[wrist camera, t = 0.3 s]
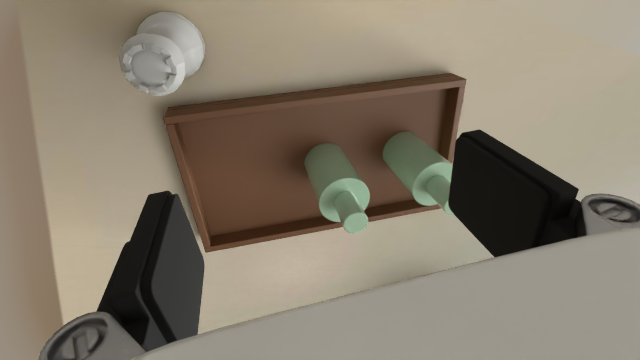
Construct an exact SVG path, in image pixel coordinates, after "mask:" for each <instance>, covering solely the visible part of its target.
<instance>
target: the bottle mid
mask: <svg viewBox="0 0 640 360" xmlns="http://www.w3.org/2000/svg"><path fill="white" fill-rule="evenodd" d="M304 169H305V172H306V174H307V177H308V180H309V182H310V185H311V188H312V190H313V193H314V196H315V198H316V201H317V204H318V206H319V209H320V211H321V213H322V215H323V216H324V217H325V218H327V219H328V220H331V221H334V222H341V223H342V225H343V227H344V229H345V231H347V232H349V233H358V232H361V231H362V230H364V229H365V228H366V226H367V224H368V217H367V215H366V213H365V212H364V210H365V209H366V207H367V205H368V203H369V199H370V193H369V190H368V187H367V186H366V184H365V183H364V181H363V180H362V178H361V177H360V175H359V173H358V172H357V170H356V169H355V167H354V166H353V164H352V163H351V161H350V160H349V158H348V157H347V155H346V153H345V152H344V150H343V149H342V148H341V147H339V146H338V145H336V144H333V143H323V144H320V145H317V146H315V147H314V148H312V149H311V150H310V151H309V153H308V154H307V156H306V158H305V161H304Z"/></svg>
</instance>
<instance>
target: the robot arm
mask: <svg viewBox="0 0 640 360" xmlns="http://www.w3.org/2000/svg"><path fill="white" fill-rule="evenodd" d="M578 190H579V189H578V188H576V187H574V186H573V185H571V184H569V183H568V182H566V181H564V180H563V179H561V178H559V177H558V176H556V175H554V174H553V173H551V172H549V171H548V170H546V169H544V168H543V167H541V166H539V165H538V164H536V163H535V162H533V161H531V160H530V159H528V158H526V157H525V156H523V155H521V154H520V153H518V152H516V151H515V150H513V149H511V148H510V147H508V146H506V145H505V144H503V143H501V142H500V141H498V140H496V139H495V138H493V137H491V136H490V135H488V134H486V133H485V132H483V131H481V130H475V131H470V132H465V133H462V134H461V135H460V137H459V138H458V139H457V140H456V143H455V150H454V158H453V166H452V174H451V183H450V191H449V199H448V205H449V208H450V210H451V211H452V213H453V214H454V215H455V216H456V217H457V218H458V219H459V220H460V221H461V222H462V223H463V224H464V225H465V226H466V227H467V229H468V230H469V231H470V232H471V233H472V234H473V235H474V236H475V237H476V238H477V239H478V240H479V241H480V242H481V243H482V244H483V245H484V247H485V248H486V249H487V250H488V251H489V252H490V253H491V254H492V255H493V256H494V257H495V258H491V259H487V260H483V261H479V262H475V263H471V264H467V265H463V266H459V267H455V268H451V269H447V270H443V271H439V272H435V273H431V274H427V275H423V276H419V277H415V278H411V279H407V280H403V281H399V282H395V283H391V284H387V285H383V286H379V287H376V288H372V289H368V290H364V291H360V292H356V293H352V294H348V295H344V296H340V297H337V298H333V299H329V300H325V301H321V302H317V303H313V304H310V305H306V306H302V307H298V308H294V309H290V310H286V311H283V312H279V313H275V314H271V315H267V316H263V317H260V318H256V319H252V320H248V321H244V322H241V323H237V324H233V325H229V326H226V327H222V328H219V329H215V330H212V331H209V332H205V333H202V334H199V335H197V334H198V324H199V315H200V305H201V295H202V286H203V276H204V260H203V256H202V254H201V251H200V249H199V246H198V243H197V241H196V238H195V236H194V233H193V231H192V228H191V226H190V223H189V221H188V218H187V216H186V213H185V210H184V208H183V205H182V203H181V200H180V198H179V196H178V194H173V195H172V194H171V192H170V191H164V192H159V193H154V194H150V195H148V197H147V200H146V202H145V205H144V207H143V210H142V212H141V215H140V217H139V220H138V222H137V225H136V227H135V230H134V232H133V235H132V237H131V240H130V241H129V242H127V243H126V244H125V245H124V247H123V249H122V252H121V254H120V256H119V259H118V261H117V264H116V266H115V268H114V271H113V273H112V276H111V278H110V280H109V283H108V285H107V288H106V290H105V292H104V295H103V297H102V300H101V302H100V304H99V307H98V309H97V312H92V313H87V314H85V315H82V316H80V317H77V318H75V319H74V320H72V321H70V322H68V323H67V324H65V325H64V326H63V327H61V328H60V329H59V330H58V331H56V332H55V333H54V334H53V336H52V337H51V338H50V339H49V340H48V341H47V342H46V344H45V346H44V347H43V349H42V350H41V352H40V356H39V360H640V205H639V204H637V203H635V202H633V201H631V200H629V199H626V198H623V197H620V196H615V195H610V194H591V195H588V196H586V197H584V198H583V199H582V201H581V202H580V201H578V200H576V199H575V198H576V196H577V193H578Z"/></svg>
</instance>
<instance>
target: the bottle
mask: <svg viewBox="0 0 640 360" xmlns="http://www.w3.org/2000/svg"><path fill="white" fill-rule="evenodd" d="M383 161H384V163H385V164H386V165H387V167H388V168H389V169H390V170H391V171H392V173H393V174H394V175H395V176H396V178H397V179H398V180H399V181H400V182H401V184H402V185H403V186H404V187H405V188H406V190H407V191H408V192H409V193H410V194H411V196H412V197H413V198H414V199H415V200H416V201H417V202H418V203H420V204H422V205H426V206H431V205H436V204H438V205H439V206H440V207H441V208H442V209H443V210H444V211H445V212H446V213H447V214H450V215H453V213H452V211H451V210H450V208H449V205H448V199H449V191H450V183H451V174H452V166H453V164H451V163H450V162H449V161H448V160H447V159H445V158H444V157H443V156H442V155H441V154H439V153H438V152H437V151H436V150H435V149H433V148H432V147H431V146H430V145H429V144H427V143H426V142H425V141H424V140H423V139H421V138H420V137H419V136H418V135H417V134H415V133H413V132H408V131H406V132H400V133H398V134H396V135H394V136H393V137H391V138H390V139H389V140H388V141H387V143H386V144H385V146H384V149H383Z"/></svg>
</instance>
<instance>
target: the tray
mask: <svg viewBox="0 0 640 360" xmlns="http://www.w3.org/2000/svg"><path fill="white" fill-rule="evenodd" d="M465 85H466V79H464V78H462V77H459V76H457V75H455V74H452V73H449V74H441V75H433V76H424V77H416V78H408V79H400V80H391V81H383V82H375V83H367V84H358V85H350V86H342V87H334V88H325V89H317V90H309V91H301V92H292V93H284V94H276V95H268V96H259V97H251V98H243V99H235V100H226V101H218V102H210V103H202V104H193V105H185V106H177V107H169V108H168V109H167V111H166V113H165V115H164V116H163V119H164V123H165V124H166V129H167V132H168V135H169V138H170V142H171V145H172V148H173V151H174V154H175V157H176V160H177V164H178V167H179V170H180V173H181V176H182V179H183V183H184V186H185V189H186V192H187V195H188V198H189V202H190V205H191V208H192V211H193V214H194V217H195V221H196V224H197V227H198V230H199V233H200V236H201V240H202V243H203V246H204V249H205V252H212V251H217V250H222V249H228V248H233V247H238V246H244V245H249V244H254V243H259V242H265V241H270V240H275V239H281V238H286V237H291V236H297V235H302V234H307V233H313V232H318V231H323V230H328V229H334V228H339V227H343V225H342V223H341V222H334V221H331V220H328V219H327V218H325V217H324V216H323V215H322V213H321V211H320V209H319V206H318V204H317V201H316V198H315V196H314V193H313V190H312V188H311V185H310V182H309V180H308V177H307V174H306V172H305V169H304V161H305V158H306V156H307V154H308V153H309V151H310V150H311V149H312V148H314V147H315V146H317V145H320V144H323V143H333V144H336V145H338V146H339V147H341V148H342V149H343V150H344V152H345V153H346V155H347V157H348V158H349V160H350V161H351V163H352V164H353V166H354V167H355V169H356V170H357V172H358V173H359V175H360V177H361V178H362V180H363V181H364V183H365V184H366V186H367V187H368V190H369V193H370V199H369V203H368V205H367V207H366V209H365V210H364V212H365V213H366V215H367V217H368V222H371V221H376V220H382V219H387V218H392V217H397V216H403V215H408V214H413V213H419V212H424V211H429V210H435V209H440V208H441V207H440V206H439V205H438V204H436V205H431V206H426V205H422V204H420V203H418V202H417V201H416V200H415V199H414V198H413V197H412V196H411V194H410V193H409V192H408V191H407V190H406V188H405V187H404V186H403V185H402V184H401V182H400V181H399V180H398V179H397V178H396V176H395V175H394V174H393V173H392V171H391V170H390V169H389V168H388V167H387V165H386V164H385V163H384V161H383V149H384V146H385V144H386V143H387V141H388V140H389V139H390V138H391V137H393V136H394V135H396V134H398V133H400V132H406V131H408V132H413V133H415V134H417V135H418V136H419V137H420V138H421V139H423V140H424V141H425V142H426V143H427V144H429V145H430V146H431V147H432V148H433V149H435V150H436V151H437V152H438V153H439V154H441V155H442V156H443V157H444V158H445V159H447V160H448V161H449V162H450V163H451V164H452V163H453V157H454V150H455V143H456V139H457V133H458V127H459V121H460V115H461V109H462V103H463V97H464V91H465Z"/></svg>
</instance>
